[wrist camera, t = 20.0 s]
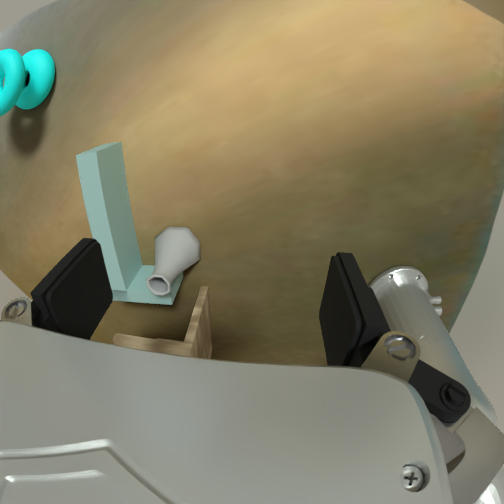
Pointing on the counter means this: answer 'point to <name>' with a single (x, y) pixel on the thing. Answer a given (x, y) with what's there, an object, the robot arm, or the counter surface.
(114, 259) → the block
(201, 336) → the wooden corner bracket
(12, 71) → the donuts
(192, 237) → the flask
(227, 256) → the counter surface
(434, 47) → the counter surface
